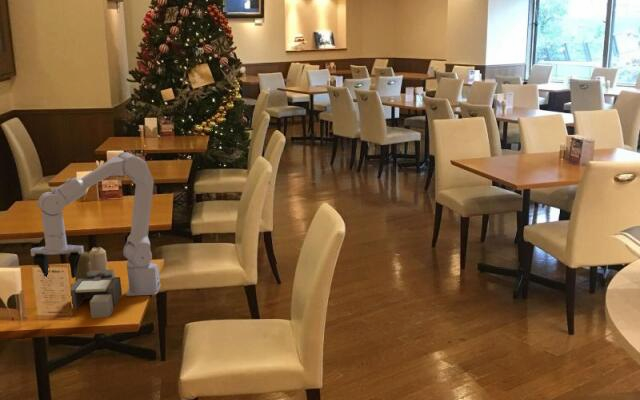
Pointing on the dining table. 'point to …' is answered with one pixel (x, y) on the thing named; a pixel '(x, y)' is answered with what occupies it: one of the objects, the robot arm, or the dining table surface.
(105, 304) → the grey cube
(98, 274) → the trapdoor flap
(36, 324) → the dining table surface
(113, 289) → the trapdoor frame
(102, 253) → the candle
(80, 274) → the olive green cylinder
